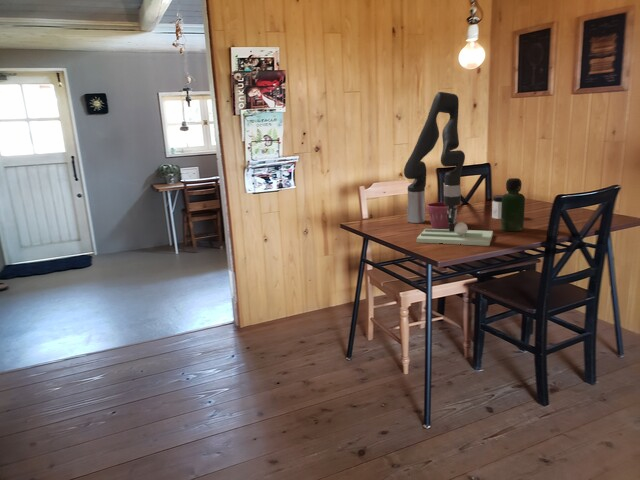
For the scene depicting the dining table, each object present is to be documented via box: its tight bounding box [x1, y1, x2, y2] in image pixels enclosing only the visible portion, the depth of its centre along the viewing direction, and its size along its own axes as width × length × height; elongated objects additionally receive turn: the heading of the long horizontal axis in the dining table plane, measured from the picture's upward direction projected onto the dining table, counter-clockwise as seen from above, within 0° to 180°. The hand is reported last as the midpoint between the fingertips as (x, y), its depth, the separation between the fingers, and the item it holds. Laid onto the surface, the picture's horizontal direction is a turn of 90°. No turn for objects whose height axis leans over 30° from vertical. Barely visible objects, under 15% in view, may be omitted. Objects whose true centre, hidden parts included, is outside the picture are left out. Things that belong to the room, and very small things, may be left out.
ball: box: [454, 221, 469, 235], centre depth 220 cm, size 6×6×6 cm
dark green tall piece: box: [500, 177, 526, 232], centre depth 230 cm, size 10×10×25 cm
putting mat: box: [416, 228, 494, 247], centre depth 222 cm, size 32×20×3 cm, turn 66°
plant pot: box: [426, 201, 449, 229], centre depth 242 cm, size 14×14×13 cm
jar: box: [491, 194, 504, 220], centre depth 259 cm, size 9×8×12 cm
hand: (451, 231), depth 221 cm, fingers closed
